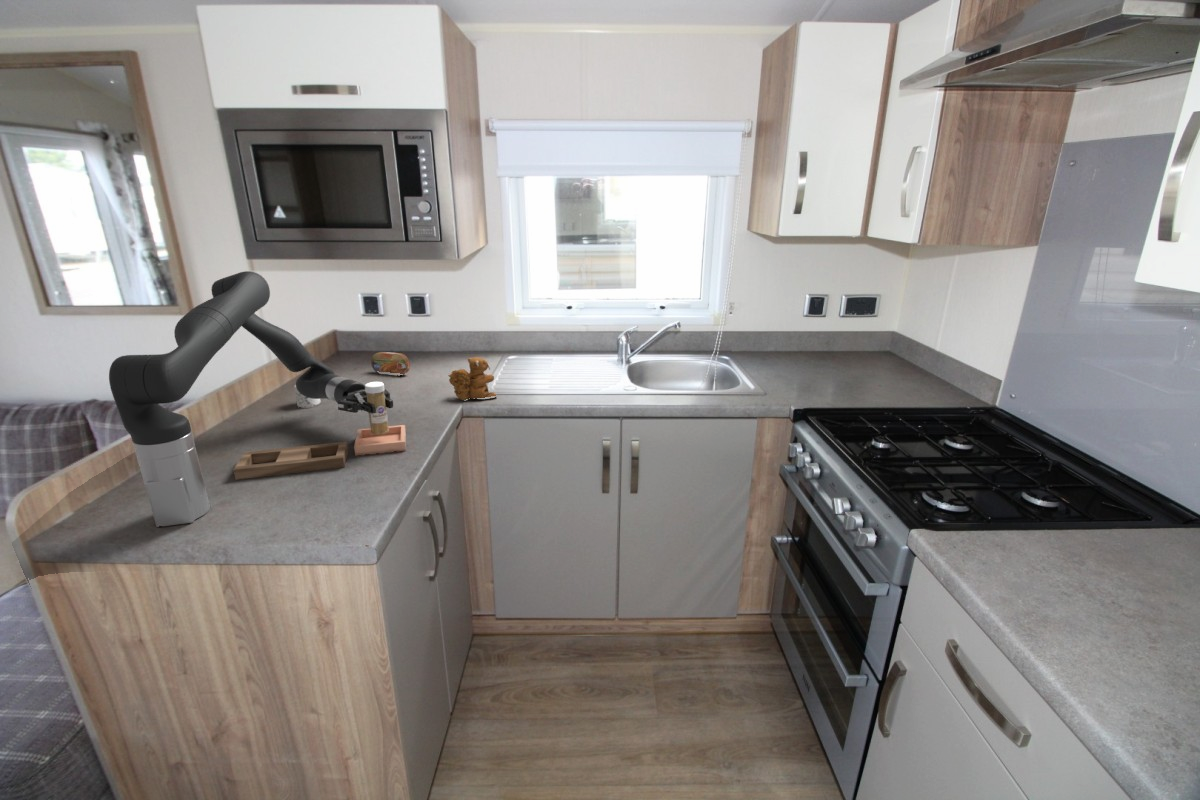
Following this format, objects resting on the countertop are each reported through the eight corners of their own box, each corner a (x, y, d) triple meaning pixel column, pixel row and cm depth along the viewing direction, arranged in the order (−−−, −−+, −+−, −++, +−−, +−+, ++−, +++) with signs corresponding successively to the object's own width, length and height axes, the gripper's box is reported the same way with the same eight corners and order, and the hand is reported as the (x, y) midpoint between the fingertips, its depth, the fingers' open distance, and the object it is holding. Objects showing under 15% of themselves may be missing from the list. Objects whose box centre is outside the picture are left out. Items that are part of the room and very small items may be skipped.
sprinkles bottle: (378, 437, 146) (373, 387, 141) (366, 433, 148) (360, 384, 143) (393, 431, 150) (387, 382, 145) (381, 427, 152) (375, 379, 147)
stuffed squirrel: (499, 398, 185) (497, 359, 181) (457, 405, 178) (454, 365, 174) (488, 390, 193) (486, 352, 189) (447, 396, 186) (444, 358, 182)
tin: (372, 373, 210) (369, 351, 207) (377, 371, 213) (374, 349, 210) (407, 377, 206) (404, 355, 203) (412, 375, 209) (410, 353, 206)
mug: (311, 409, 174) (308, 388, 172) (292, 407, 175) (288, 386, 173) (332, 398, 183) (329, 379, 181) (314, 397, 184) (310, 377, 182)
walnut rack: (344, 467, 136) (343, 457, 136) (235, 479, 130) (233, 469, 129) (348, 450, 145) (347, 441, 145) (246, 461, 139) (244, 452, 138)
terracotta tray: (405, 450, 146) (404, 441, 145) (355, 456, 142) (354, 446, 142) (405, 433, 157) (404, 424, 156) (359, 437, 153) (357, 429, 152)
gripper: (318, 385, 147) (355, 400, 138) (368, 373, 158) (405, 386, 149) (323, 412, 150) (359, 428, 140) (371, 398, 161) (408, 413, 151)
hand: (382, 406), depth 145 cm, fingers closed on sprinkles bottle, 4 cm apart
